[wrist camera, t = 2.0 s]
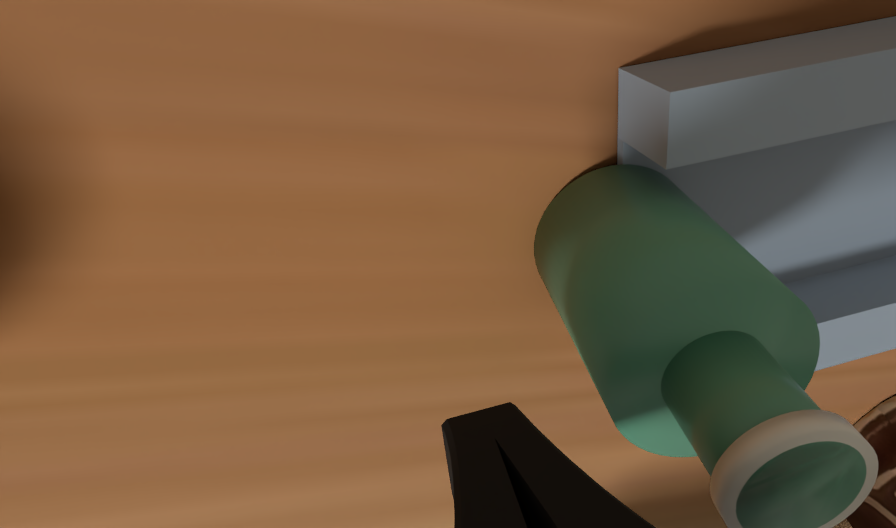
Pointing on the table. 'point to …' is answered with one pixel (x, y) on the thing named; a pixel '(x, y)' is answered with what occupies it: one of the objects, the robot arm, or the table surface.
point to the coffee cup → (879, 468)
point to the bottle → (699, 349)
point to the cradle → (787, 164)
